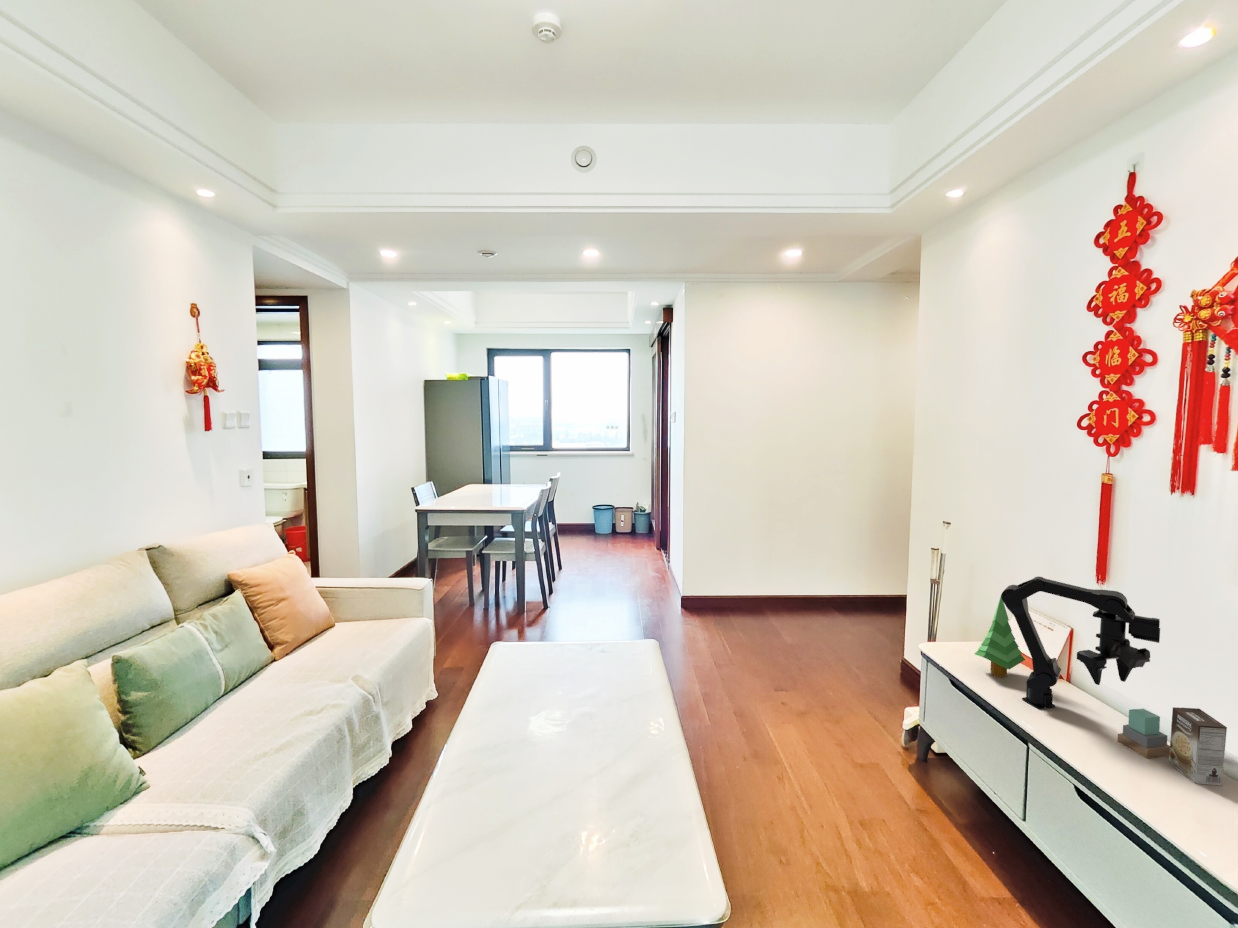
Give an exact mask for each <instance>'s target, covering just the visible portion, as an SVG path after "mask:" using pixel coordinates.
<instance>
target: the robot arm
mask: <svg viewBox="0 0 1238 928" xmlns="http://www.w3.org/2000/svg"><path fill="white" fill-rule="evenodd" d="M1039 592H1042V593H1047V594H1051V595H1053V596H1054V595H1055V596H1056V597H1057V596H1059V597H1063V598H1065V599H1070V600H1073V601H1077V602H1081V603H1085V604H1088V605H1090V606H1092V607H1094V608H1096V609H1097V610H1096V611H1095V610H1094V611H1093V613H1092V617H1094V618H1098V619H1100V625H1099V627H1100V628H1099V629H1100V630H1099V633H1096V634H1095V637H1096V638H1098V639H1099V645H1098V646H1095V648H1094V649H1095V651H1093V650H1090V649H1086V650H1085V649H1084V650H1079V651H1077V652H1076V660H1078V661H1080V662H1081V663H1083V665H1084V667H1085V668H1086V669H1087V671H1088V673H1089V675H1090V676H1091V678H1092V680H1093V682H1094V684H1095V685H1097V686H1100V685H1101V679H1102V673H1103V670H1105V669H1107V666H1106V665H1107V662H1108V661H1109V660H1115V661H1116V665H1117V672H1118V676H1119V680H1120V682H1124V683H1125V682H1126V681H1127V679H1128V677H1129V675H1130V673H1131V672H1132V670H1133V669H1136V668H1143V667H1144V666H1145V664H1146V663H1150V662H1151V651H1150V650H1148V648H1145V647H1143V648H1137V647H1134V646H1131V641H1130V640H1129V638H1127V637H1126V629H1127V624H1128V630H1127V631H1128V634H1129V635H1130V636H1131V637H1132V638H1133V639H1137V640H1141V641H1147V642H1151V643H1156V644H1160V638H1161V628H1160V624H1161V622H1160V618H1157V617H1156V618H1155V617H1147V616H1140V615H1136V612H1135V611H1134V609H1132V607H1131V606H1130V605H1129V604H1128V599H1127V597H1126V596H1125V595H1124V593H1122V592H1121V591H1118V590H1108V589H1093V588H1092V589H1091V588H1086V587H1081V586H1077V585H1073V584H1070V583H1064V582H1061V581H1056V580H1052V579H1047V578H1045V577H1043V576H1035V577H1033V578H1032V579H1029V580H1026V581H1024V582H1022V583H1019V584H1010V585H1008V586H1007V587H1006V588H1005V589H1004V590H1003V591H1002V593H1001V594H1000V597H1001V598H1002V601H1003V602H1004V606H1005V608H1007V609H1008V611H1009V612H1010V613H1011V614H1012V615H1013V617H1014V618H1015V621H1016V623H1017V626H1018V629H1019V630H1020V632H1021V635H1022V638H1023V640H1024V642H1025V645H1026V647H1027V649H1028V651H1029V654H1030V656H1031V662H1032V670H1033V671H1031V672H1030V673H1029V676H1028V677H1027V679H1026V681H1025V683H1026V690H1025V692H1026V693H1025V694H1026V695H1025V697H1021V699H1022V700H1023V701H1024V702H1026V703H1028V704H1030V705H1031V706H1033V707H1034V708H1036V709H1038V710H1043V709H1050V708H1056V704H1054V703H1053V696H1054V695H1053V688H1051V687H1053V686H1054V687H1055V685H1056V684H1057V683H1058V680H1059V678H1060V675H1061V671H1062V668H1061V667H1060V666H1059V664H1058V660H1057V658H1056V657H1053V658H1051V657H1050V656H1049V655H1048V653H1047V652H1046V650H1045V647H1044V644H1043V642H1042V640H1041V638H1040V635H1039V634H1038V631H1037V628H1036V626H1035V624H1034V621H1033V619H1032V617H1031V614H1030V612H1029V611H1030V610H1029V604H1028V598H1029V597H1031V596H1033V595H1035V594H1036V593H1039ZM1096 651H1098V652H1099V653H1097V652H1096Z"/></svg>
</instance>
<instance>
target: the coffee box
mask: <svg viewBox="0 0 1238 928" xmlns="http://www.w3.org/2000/svg"><path fill="white" fill-rule="evenodd" d="M1170 727H1171V728H1170V729H1171V731H1170V744H1169V746H1170V755H1169V756H1168V758H1169V760H1168V762H1169V763H1170V764H1171V765H1172V766H1174V767H1175V768H1176V769H1177V770H1178V771H1179V772H1180V773H1182V774H1183V775H1184V776H1185V777H1186V778H1188V779H1189V780H1190V781H1191V782H1193V783H1194V784H1196V785H1198V784H1199V785H1210V786H1222V785H1223V777H1224V776H1223V775H1224V766H1225V755H1226V753H1225V752H1226V743H1227V742H1226V741H1227V733H1228V732H1227V731H1228V730H1227V729H1228V727H1227V726H1226V725H1224V724H1222V723H1221V722H1220V721H1218V720H1217V719H1215V718H1214V717H1213V716H1211V715H1209V714H1208V713H1206V712H1205V711H1204V710H1202V709H1201V708H1193V707H1176V706H1175V707H1172V716H1171V726H1170Z"/></svg>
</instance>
